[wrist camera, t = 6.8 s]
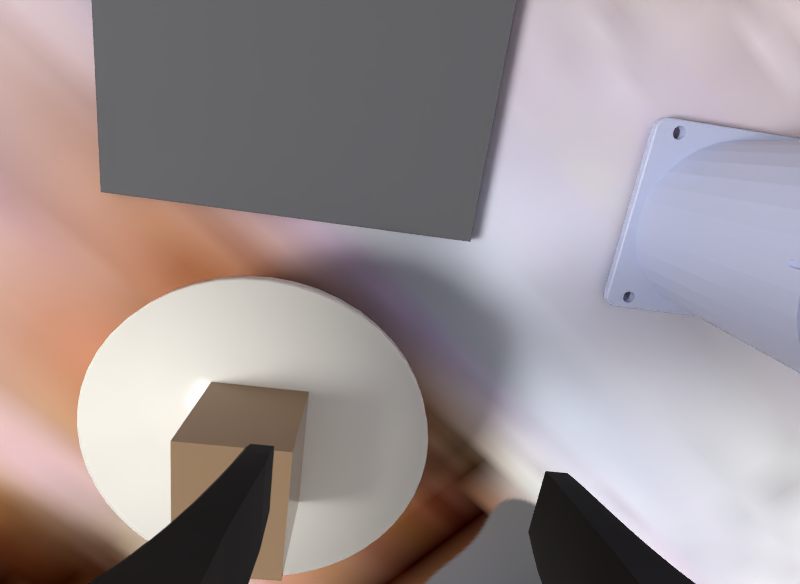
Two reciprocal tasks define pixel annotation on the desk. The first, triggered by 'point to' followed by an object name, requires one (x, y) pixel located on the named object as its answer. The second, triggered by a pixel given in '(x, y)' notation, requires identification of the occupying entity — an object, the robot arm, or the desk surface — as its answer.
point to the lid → (256, 415)
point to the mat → (303, 106)
